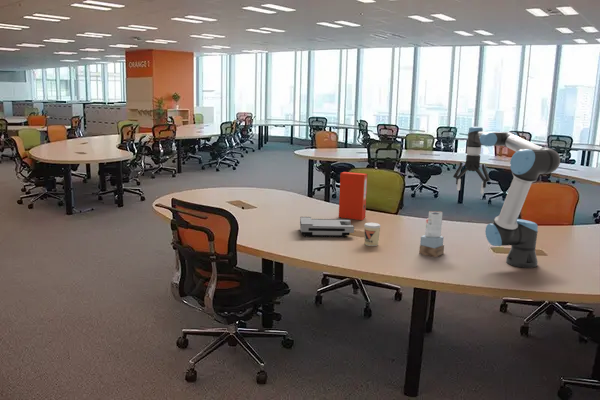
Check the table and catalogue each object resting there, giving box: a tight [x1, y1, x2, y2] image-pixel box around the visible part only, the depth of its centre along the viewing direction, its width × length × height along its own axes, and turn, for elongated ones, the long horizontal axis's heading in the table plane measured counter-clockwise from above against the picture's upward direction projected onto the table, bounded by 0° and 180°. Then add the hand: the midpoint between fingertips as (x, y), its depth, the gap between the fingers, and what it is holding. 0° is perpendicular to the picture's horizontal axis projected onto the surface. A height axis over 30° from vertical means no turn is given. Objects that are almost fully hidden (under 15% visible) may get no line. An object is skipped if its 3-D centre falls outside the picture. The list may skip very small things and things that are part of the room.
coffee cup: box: [363, 222, 381, 247], centre depth 302 cm, size 9×9×12 cm
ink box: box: [424, 210, 443, 237], centre depth 284 cm, size 4×8×15 cm, turn 89°
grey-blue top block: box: [419, 234, 445, 248], centre depth 286 cm, size 9×9×5 cm
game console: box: [299, 216, 355, 239], centre depth 324 cm, size 21×32×8 cm, turn 92°
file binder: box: [338, 171, 368, 221], centre depth 365 cm, size 8×17×32 cm, turn 65°
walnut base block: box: [418, 244, 445, 258], centre depth 287 cm, size 10×10×5 cm
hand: (470, 191), depth 295 cm, fingers open, 13 cm apart
